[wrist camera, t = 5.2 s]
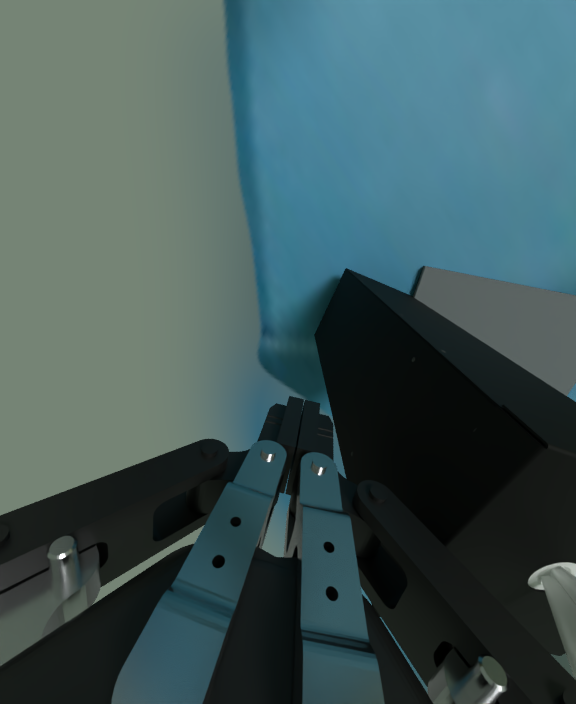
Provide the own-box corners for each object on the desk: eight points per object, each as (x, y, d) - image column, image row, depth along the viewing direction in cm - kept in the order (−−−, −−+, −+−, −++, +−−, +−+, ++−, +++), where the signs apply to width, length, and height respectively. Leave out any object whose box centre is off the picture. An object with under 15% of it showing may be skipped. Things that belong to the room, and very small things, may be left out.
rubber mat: (423, 265, 29) (425, 266, 28) (620, 304, 27) (626, 305, 27) (386, 371, 33) (387, 374, 33) (552, 408, 32) (556, 411, 32)
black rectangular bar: (312, 335, 32) (411, 800, 6) (345, 266, 29) (772, 644, 3) (376, 358, 33) (665, 826, 8) (413, 295, 30) (1100, 730, 5)
